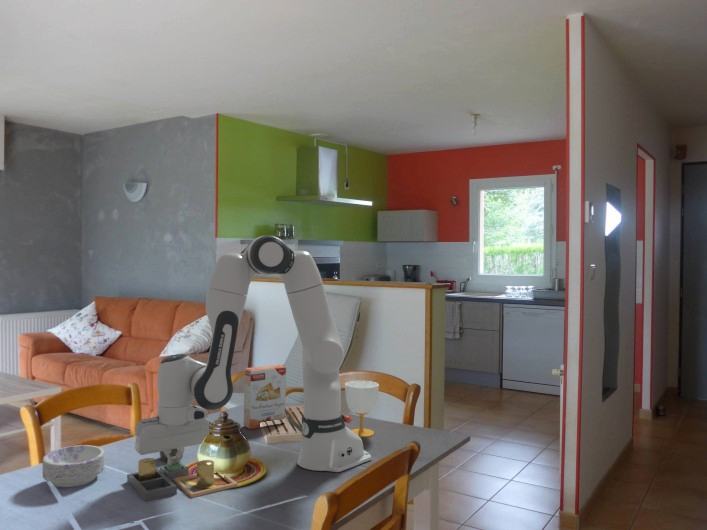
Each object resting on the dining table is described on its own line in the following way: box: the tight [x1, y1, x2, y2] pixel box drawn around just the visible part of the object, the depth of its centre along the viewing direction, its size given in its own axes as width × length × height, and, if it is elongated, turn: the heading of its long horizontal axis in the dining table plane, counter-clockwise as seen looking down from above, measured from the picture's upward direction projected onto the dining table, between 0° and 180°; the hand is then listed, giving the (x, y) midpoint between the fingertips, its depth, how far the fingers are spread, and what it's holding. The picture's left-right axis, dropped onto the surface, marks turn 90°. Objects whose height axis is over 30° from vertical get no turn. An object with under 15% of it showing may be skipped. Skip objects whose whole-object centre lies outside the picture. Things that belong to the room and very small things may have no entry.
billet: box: [196, 459, 215, 488], centre depth 161 cm, size 4×4×6 cm
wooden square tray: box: [173, 472, 238, 498], centre depth 161 cm, size 13×13×2 cm
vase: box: [159, 448, 184, 463], centre depth 180 cm, size 7×7×9 cm
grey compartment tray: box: [126, 467, 178, 502], centre depth 158 cm, size 8×15×3 cm, turn 36°
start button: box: [166, 461, 182, 472], centre depth 167 cm, size 4×4×3 cm
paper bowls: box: [42, 444, 106, 488], centre depth 163 cm, size 15×15×8 cm
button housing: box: [159, 462, 190, 481], centre depth 167 cm, size 6×6×3 cm
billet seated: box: [137, 457, 157, 482], centre depth 160 cm, size 4×4×6 cm
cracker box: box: [243, 364, 287, 430], centre depth 217 cm, size 14×6×21 cm, turn 124°
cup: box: [344, 379, 380, 438], centre depth 209 cm, size 12×12×17 cm
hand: (173, 463), depth 167 cm, fingers closed, pressing on start button
